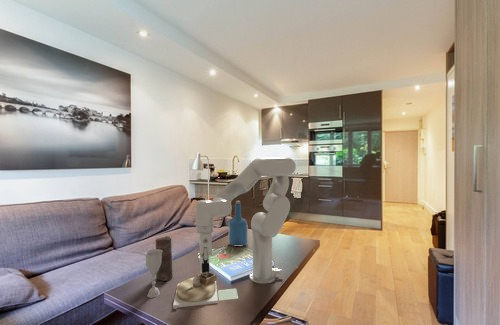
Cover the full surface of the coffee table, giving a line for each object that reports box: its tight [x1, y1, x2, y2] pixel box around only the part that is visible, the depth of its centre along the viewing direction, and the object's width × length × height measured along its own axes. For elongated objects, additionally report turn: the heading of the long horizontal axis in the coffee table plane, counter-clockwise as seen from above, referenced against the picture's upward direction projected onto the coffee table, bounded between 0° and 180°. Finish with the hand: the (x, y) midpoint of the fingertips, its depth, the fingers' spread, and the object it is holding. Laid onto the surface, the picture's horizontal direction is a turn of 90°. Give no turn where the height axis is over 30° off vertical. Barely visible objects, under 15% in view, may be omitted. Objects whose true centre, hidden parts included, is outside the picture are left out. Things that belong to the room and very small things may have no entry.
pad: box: [217, 287, 239, 302], centre depth 100 cm, size 8×8×1 cm
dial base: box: [172, 280, 219, 310], centre depth 101 cm, size 17×17×2 cm
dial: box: [176, 271, 217, 302], centre depth 101 cm, size 16×16×5 cm
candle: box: [155, 235, 173, 282], centre depth 115 cm, size 8×7×20 cm
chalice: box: [144, 248, 163, 299], centre depth 101 cm, size 7×7×18 cm
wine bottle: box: [228, 200, 249, 246], centre depth 164 cm, size 14×13×30 cm
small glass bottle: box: [199, 253, 211, 279], centre depth 105 cm, size 4×4×12 cm
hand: (205, 269), depth 105 cm, fingers open, 4 cm apart
